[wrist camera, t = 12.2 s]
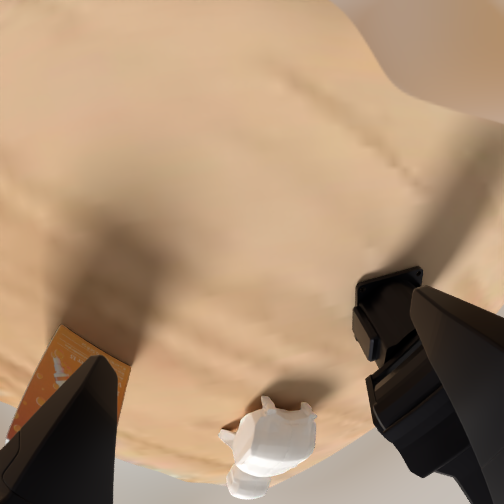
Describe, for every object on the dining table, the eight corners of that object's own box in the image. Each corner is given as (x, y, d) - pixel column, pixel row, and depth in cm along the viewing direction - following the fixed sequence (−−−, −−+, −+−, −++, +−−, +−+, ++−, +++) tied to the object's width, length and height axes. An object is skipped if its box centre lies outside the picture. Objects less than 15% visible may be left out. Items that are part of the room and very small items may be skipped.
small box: (133, 365, 25) (108, 489, 14) (109, 392, 27) (86, 497, 16) (60, 320, 22) (4, 438, 11) (45, 354, 24) (2, 455, 13)
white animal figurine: (243, 377, 32) (202, 463, 32) (264, 422, 23) (212, 510, 24) (306, 390, 34) (260, 470, 34) (338, 428, 26) (278, 511, 26)
